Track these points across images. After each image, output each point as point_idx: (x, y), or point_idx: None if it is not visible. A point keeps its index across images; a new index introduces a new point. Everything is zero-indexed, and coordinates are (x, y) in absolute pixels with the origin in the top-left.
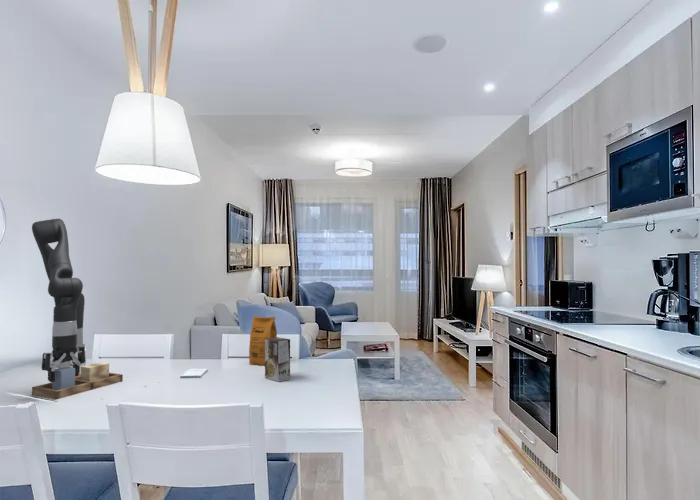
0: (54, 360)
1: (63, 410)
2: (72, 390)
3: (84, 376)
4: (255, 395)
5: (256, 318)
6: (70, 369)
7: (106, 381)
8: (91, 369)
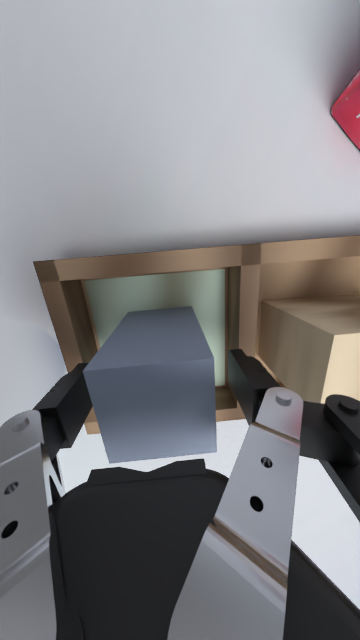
0: (21, 509)
1: (80, 482)
2: None
3: (284, 342)
4: None
5: None
6: (178, 453)
7: None
8: None
